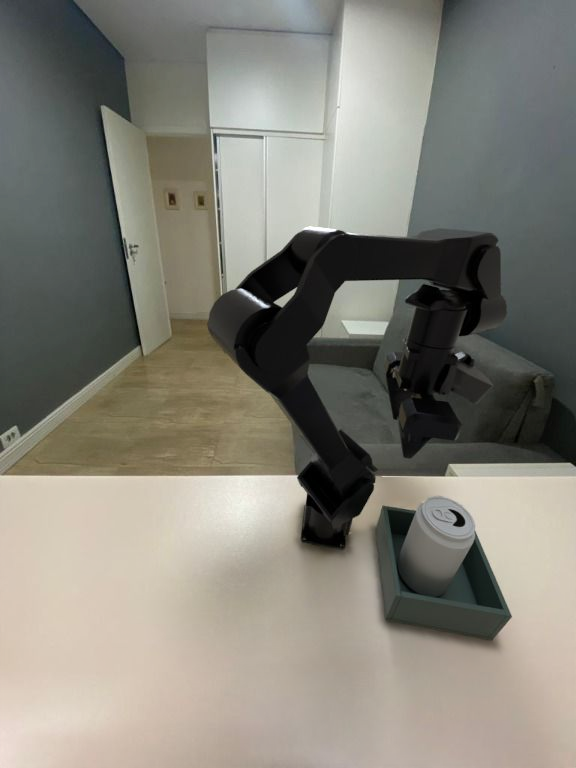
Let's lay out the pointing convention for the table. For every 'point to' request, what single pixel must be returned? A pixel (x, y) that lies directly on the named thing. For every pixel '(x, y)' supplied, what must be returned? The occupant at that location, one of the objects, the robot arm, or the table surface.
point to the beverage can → (435, 545)
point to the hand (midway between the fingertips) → (401, 436)
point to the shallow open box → (457, 604)
